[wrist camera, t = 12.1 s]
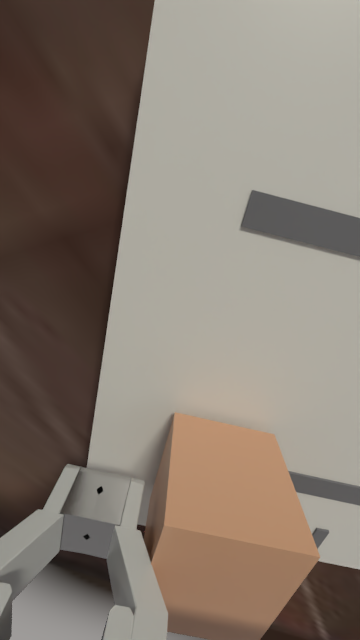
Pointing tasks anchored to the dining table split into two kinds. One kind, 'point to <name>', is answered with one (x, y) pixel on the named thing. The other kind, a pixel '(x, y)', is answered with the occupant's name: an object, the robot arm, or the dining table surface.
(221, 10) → the fader panel
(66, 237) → the dining table surface
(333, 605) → the dining table surface
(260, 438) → the block
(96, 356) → the dining table surface
